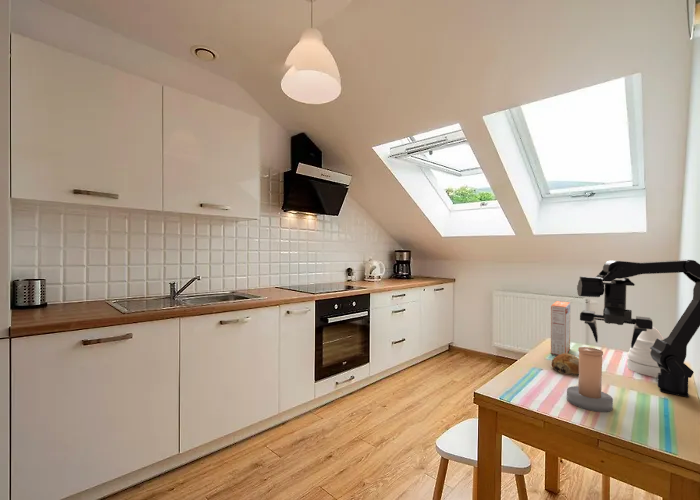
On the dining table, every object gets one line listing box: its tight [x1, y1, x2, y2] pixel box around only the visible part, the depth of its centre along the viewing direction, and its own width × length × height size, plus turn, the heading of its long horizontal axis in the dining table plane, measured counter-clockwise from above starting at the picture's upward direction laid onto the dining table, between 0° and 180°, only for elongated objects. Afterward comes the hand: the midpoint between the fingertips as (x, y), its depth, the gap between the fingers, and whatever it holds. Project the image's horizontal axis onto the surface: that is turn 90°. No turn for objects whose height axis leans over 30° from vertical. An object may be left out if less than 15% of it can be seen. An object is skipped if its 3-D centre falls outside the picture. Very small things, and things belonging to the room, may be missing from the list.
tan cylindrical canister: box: [577, 346, 604, 398], centre depth 99 cm, size 6×6×13 cm
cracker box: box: [550, 300, 571, 356], centre depth 147 cm, size 14×6×21 cm, turn 141°
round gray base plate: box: [566, 385, 614, 413], centre depth 99 cm, size 11×11×2 cm
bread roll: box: [551, 352, 579, 376], centre depth 125 cm, size 10×10×8 cm
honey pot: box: [626, 326, 665, 378], centre depth 125 cm, size 13×13×18 cm
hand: (613, 345), depth 113 cm, fingers open, 9 cm apart
